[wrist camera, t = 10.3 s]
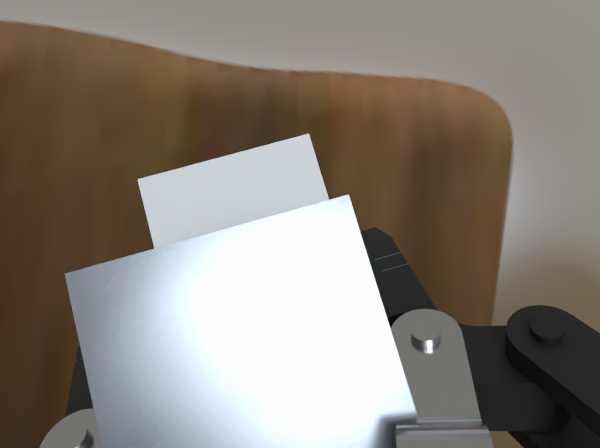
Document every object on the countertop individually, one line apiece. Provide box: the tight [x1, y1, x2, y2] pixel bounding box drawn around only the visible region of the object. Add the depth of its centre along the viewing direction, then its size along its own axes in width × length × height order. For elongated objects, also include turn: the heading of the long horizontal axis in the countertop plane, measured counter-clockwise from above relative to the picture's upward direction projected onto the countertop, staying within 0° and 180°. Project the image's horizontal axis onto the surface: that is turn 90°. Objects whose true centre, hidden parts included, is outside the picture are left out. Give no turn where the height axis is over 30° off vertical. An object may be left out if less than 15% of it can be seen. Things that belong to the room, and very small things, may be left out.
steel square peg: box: [65, 195, 418, 448], centre depth 12 cm, size 4×4×9 cm
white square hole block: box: [138, 134, 329, 248], centre depth 26 cm, size 9×18×3 cm, turn 16°
